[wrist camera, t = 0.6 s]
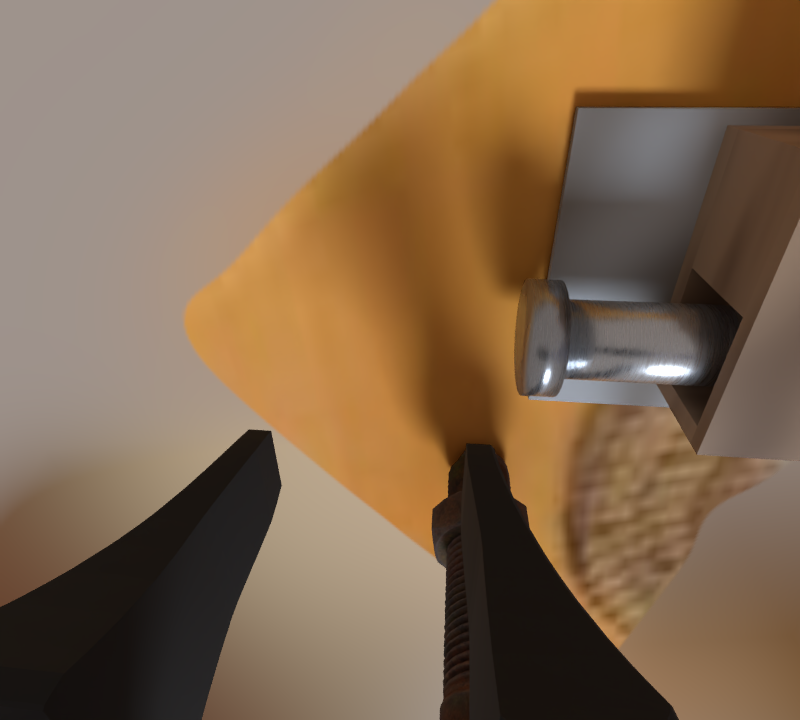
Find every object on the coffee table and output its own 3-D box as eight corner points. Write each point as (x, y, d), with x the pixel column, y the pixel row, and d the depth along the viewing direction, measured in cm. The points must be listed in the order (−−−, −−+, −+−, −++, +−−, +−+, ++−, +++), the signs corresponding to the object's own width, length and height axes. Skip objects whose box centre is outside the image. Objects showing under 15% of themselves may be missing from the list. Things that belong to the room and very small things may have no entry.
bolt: (549, 452, 26) (634, 840, 13) (504, 510, 29) (540, 877, 16) (447, 415, 25) (436, 786, 13) (411, 478, 28) (372, 835, 15)
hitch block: (952, 108, 16) (1164, 137, 11) (790, 408, 23) (879, 507, 18) (576, 106, 17) (622, 132, 12) (527, 394, 24) (545, 484, 19)
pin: (787, 269, 18) (868, 325, 15) (743, 366, 21) (804, 436, 17) (524, 260, 19) (539, 312, 16) (511, 355, 22) (521, 419, 18)
